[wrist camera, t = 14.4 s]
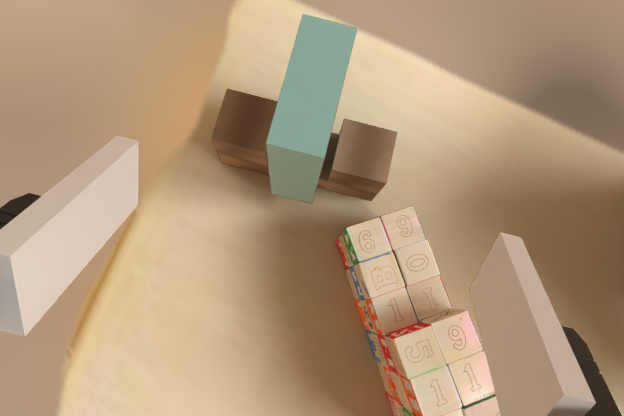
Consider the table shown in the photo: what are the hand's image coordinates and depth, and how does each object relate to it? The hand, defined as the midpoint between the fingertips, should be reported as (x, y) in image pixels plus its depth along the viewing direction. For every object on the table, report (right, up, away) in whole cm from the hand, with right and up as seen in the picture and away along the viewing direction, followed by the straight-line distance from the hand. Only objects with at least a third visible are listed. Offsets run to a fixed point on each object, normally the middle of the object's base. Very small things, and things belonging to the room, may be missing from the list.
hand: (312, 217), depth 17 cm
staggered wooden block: (-1, +5, +32) cm, 32 cm away
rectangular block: (-1, +6, +29) cm, 29 cm away
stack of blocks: (+8, -12, +29) cm, 32 cm away
